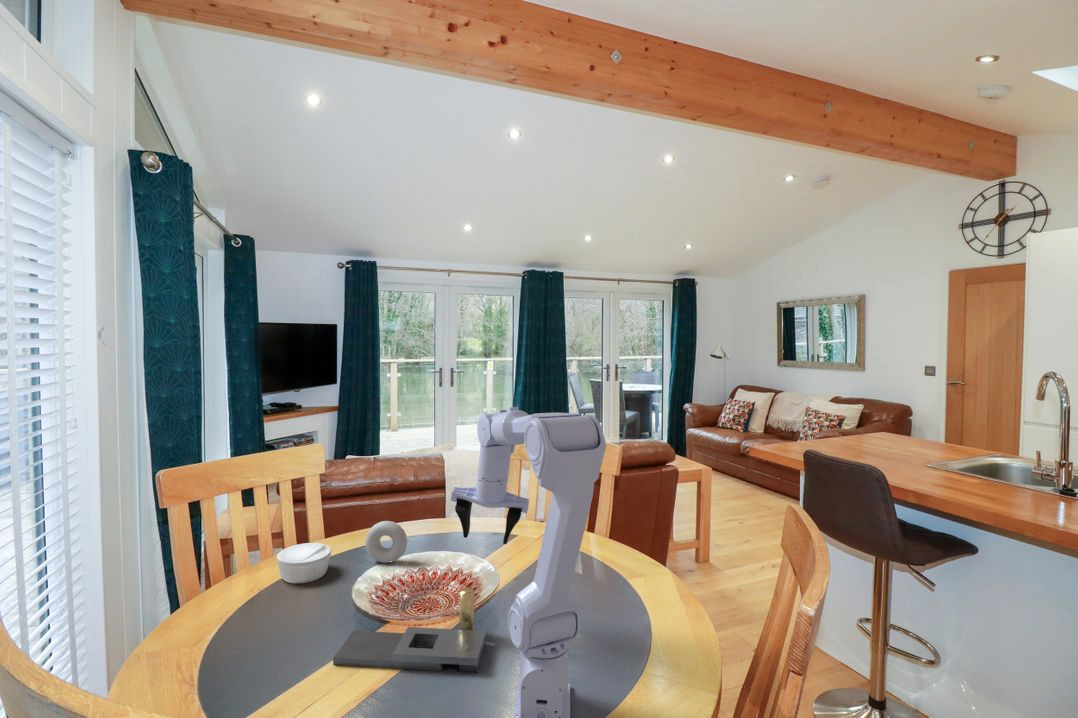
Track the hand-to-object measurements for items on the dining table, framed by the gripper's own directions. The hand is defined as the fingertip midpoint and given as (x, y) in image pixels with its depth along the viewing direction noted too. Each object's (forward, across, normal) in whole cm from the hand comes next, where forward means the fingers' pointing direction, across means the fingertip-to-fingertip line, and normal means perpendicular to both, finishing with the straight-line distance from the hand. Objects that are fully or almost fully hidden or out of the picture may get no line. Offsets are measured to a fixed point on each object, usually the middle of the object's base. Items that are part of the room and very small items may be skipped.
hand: (485, 537), depth 101 cm
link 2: (+13, +4, +16) cm, 21 cm away
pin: (+14, 0, +9) cm, 17 cm away
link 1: (+14, +11, +16) cm, 24 cm away
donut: (+24, +25, -18) cm, 39 cm away
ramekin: (+24, +41, -10) cm, 49 cm away
